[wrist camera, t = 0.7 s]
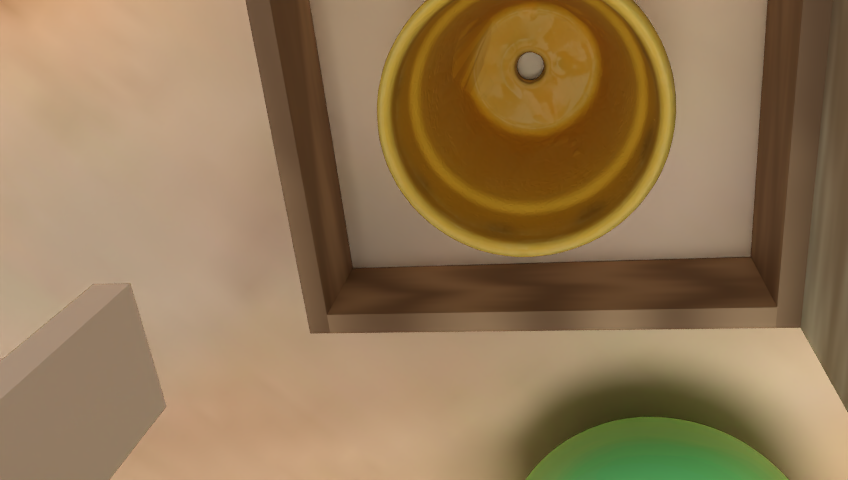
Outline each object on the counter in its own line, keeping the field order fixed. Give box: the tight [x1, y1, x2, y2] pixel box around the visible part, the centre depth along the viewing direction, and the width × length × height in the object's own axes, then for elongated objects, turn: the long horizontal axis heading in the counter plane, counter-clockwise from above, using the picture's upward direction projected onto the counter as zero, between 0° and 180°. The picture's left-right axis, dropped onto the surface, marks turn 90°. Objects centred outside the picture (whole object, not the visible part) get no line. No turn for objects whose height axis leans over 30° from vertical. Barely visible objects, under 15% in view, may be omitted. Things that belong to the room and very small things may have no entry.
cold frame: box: [246, 0, 848, 412], centre depth 26 cm, size 23×22×20 cm
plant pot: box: [377, 0, 676, 257], centre depth 30 cm, size 10×10×10 cm
